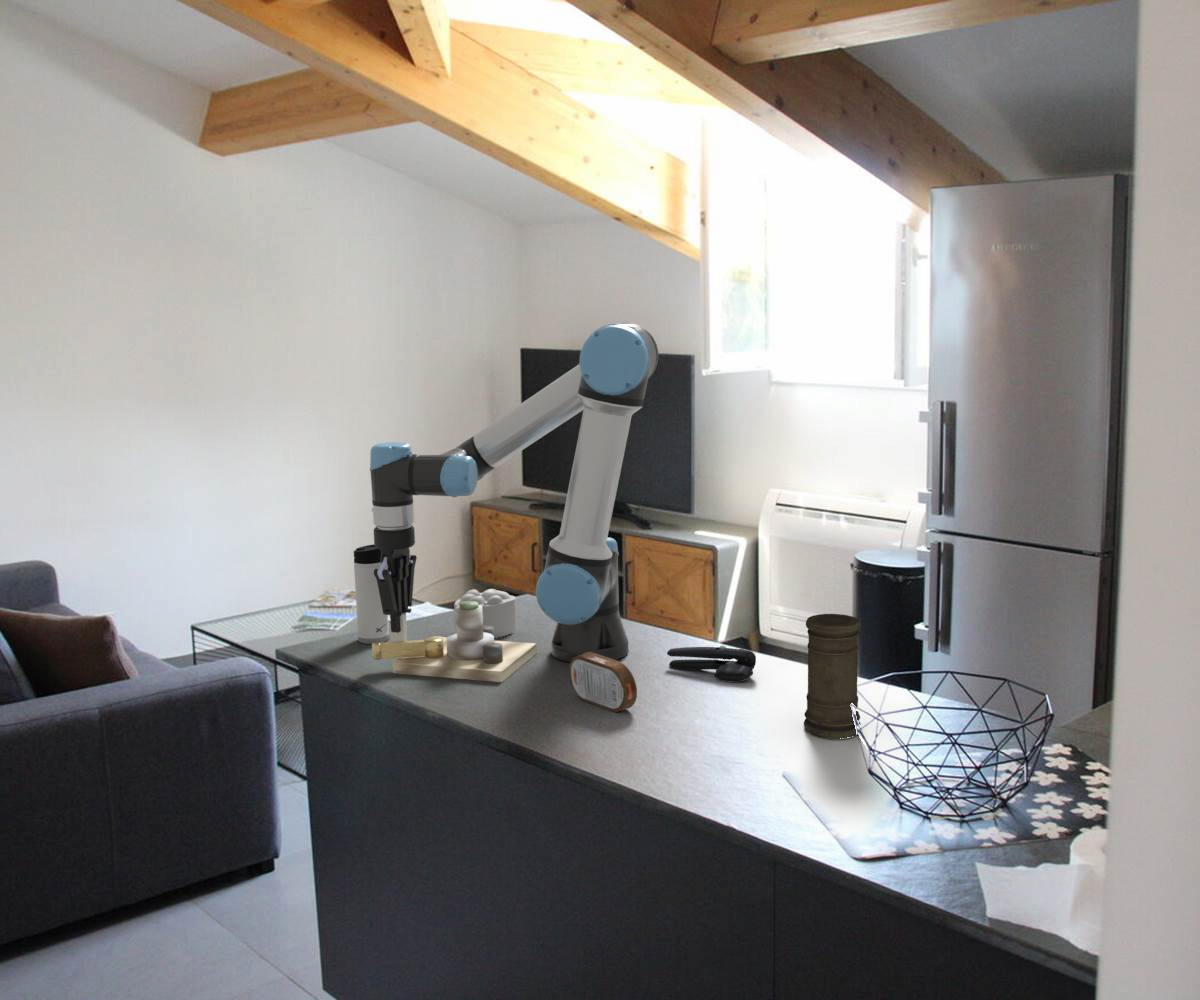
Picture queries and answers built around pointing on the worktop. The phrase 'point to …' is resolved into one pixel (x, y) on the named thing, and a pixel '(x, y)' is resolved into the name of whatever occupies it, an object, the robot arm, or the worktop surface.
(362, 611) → the travel mug
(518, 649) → the base
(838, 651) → the container
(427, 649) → the brass ball lever
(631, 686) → the tin
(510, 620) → the paw-shaped mold
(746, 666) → the can opener
